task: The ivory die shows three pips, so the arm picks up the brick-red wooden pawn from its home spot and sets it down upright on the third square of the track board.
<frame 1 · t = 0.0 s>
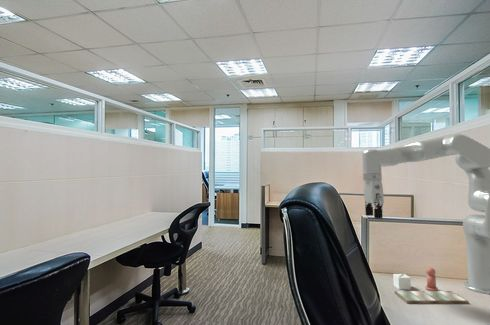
hand: (373, 216, 129), 31 cm above the table, tool pointing down, fingers open, 9 cm apart
pawn: (431, 289, 126), on the table
track board: (429, 298, 117), on the table
die: (402, 287, 129), on the table
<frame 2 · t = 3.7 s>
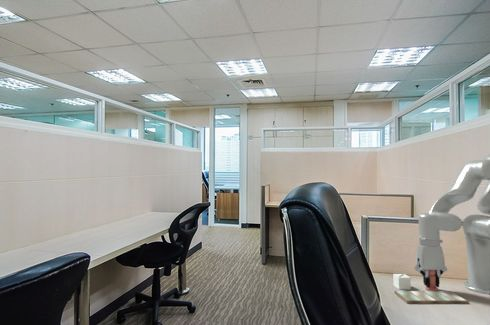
hand: (431, 285, 126), 2 cm above the table, tool pointing down, fingers closed on pawn, 3 cm apart
pawn: (431, 289, 126), on the table, touching gripper
everything else where it was.
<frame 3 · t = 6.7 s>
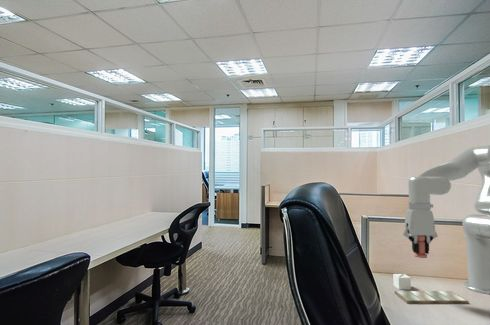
hand: (420, 252, 119), 18 cm above the table, tool pointing down, fingers closed on pawn, 3 cm apart
pawn: (420, 256, 119), point 16 cm above the table, touching gripper
everything else where it was.
when the fingers open (4 cm above the table, at t = 9.6 s): pawn drops 1 cm, resting on track board.
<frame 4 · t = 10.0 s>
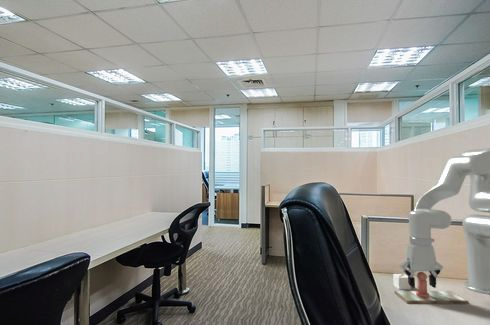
hand: (422, 286, 117), 5 cm above the table, tool pointing down, fingers open, 7 cm apart
pawn: (422, 295, 117), point 1 cm above the table, touching track board
everything else where it was.
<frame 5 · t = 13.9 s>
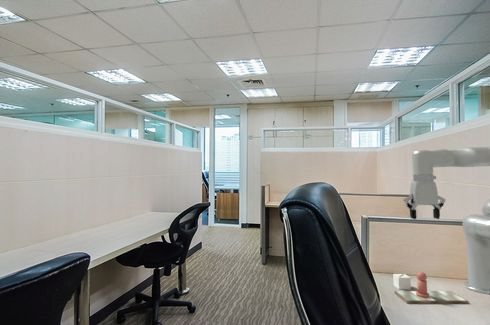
hand: (425, 218, 126), 30 cm above the table, tool pointing down, fingers open, 9 cm apart
nothing on the table moved.
at the end: pawn 0.0 cm from the target spot on the track board, point 1.0 cm above the track board's base; pawn tilted 0°; the gripper is holding nothing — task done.
